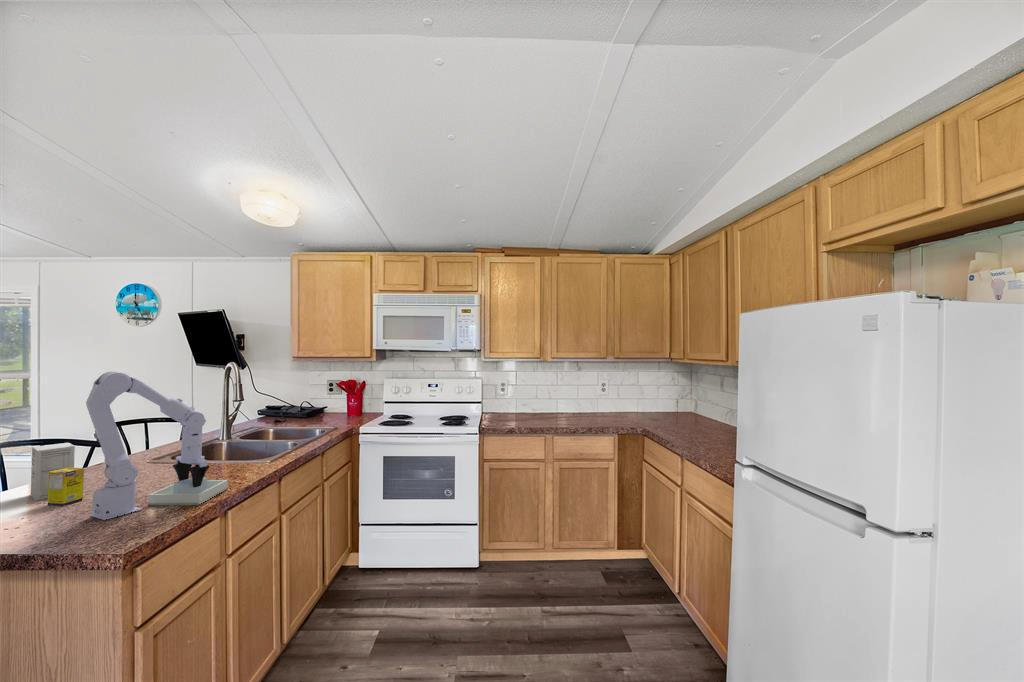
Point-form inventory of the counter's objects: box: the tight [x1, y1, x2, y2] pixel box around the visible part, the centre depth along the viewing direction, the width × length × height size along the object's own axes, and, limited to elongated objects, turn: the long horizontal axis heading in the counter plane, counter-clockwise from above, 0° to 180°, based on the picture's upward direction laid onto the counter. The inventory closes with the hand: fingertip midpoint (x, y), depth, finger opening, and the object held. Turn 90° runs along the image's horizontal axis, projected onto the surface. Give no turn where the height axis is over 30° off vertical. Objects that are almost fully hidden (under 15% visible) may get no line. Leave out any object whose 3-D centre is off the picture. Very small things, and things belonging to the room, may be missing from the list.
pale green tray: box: [147, 479, 229, 506], centre depth 149 cm, size 16×16×4 cm
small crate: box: [173, 477, 208, 494], centre depth 149 cm, size 8×5×5 cm, turn 156°
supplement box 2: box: [30, 442, 76, 501], centre depth 150 cm, size 10×9×17 cm
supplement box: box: [47, 467, 85, 507], centre depth 142 cm, size 6×6×11 cm
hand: (190, 485), depth 149 cm, fingers open, 7 cm apart
